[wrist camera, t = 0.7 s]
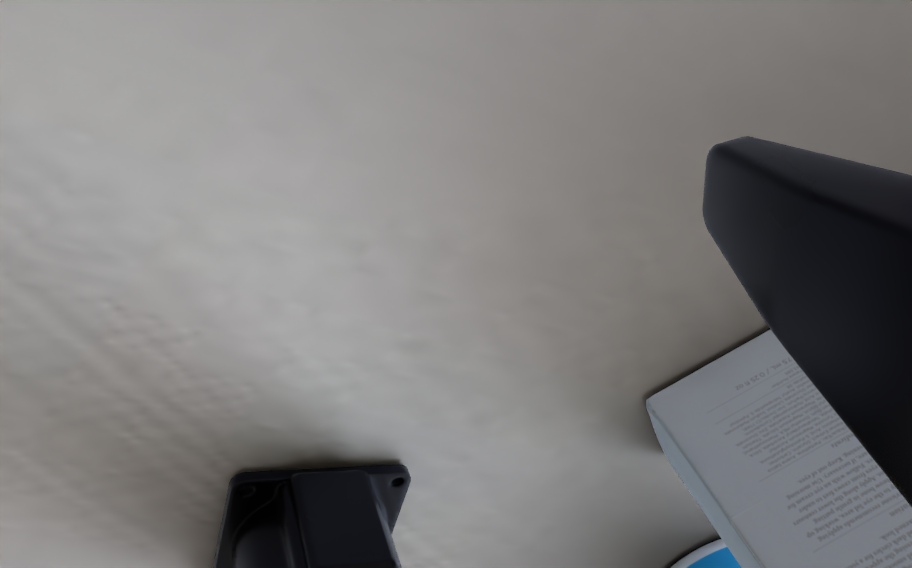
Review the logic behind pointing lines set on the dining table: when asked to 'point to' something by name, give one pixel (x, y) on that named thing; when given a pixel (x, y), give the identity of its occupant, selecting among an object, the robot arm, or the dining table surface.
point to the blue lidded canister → (709, 557)
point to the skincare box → (779, 466)
